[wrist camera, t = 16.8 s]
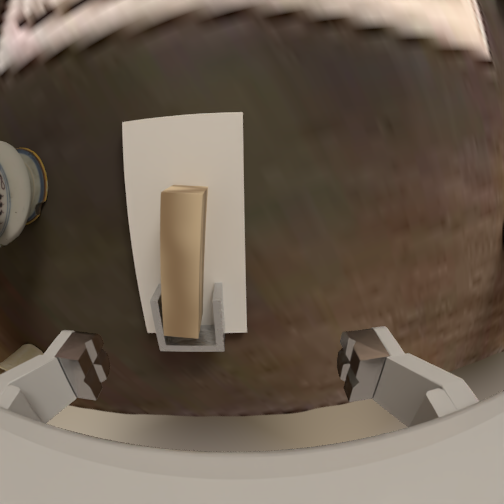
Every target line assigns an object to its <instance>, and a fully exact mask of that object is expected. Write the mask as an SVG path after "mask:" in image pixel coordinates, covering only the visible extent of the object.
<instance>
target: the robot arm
mask: <svg viewBox="0 0 504 504" xmlns="http://www.w3.org/2000/svg"><path fill="white" fill-rule="evenodd" d="M340 343H341V345H342V347H343V348H342V349H341V350H340V351H339V352H338V357H337V369H338V374H339V377H340V379H342V380H343V381H345V384H344V390H345V393H346V395H347V398H348V401H349V402H352V401H359V400H365V399H372V398H373V400H374V401H375V402H377V403H378V404H379V405H380V406H382V407H383V408H384V409H386V410H387V411H388V412H389V413H390V414H392V415H393V416H394V417H396V418H397V419H398V420H400V421H401V422H402V423H403V424H405V425H406V426H407V427H408V428H404V429H400V430H397V431H393V432H389V433H385V434H381V435H377V436H372V437H367V438H363V439H358V440H353V441H347V442H342V443H336V444H330V445H322V446H316V447H307V448H299V449H288V450H274V451H254V452H210V451H209V452H208V451H190V450H177V449H166V448H156V447H149V446H142V445H135V444H129V443H123V442H117V441H112V440H107V439H102V438H98V437H93V436H89V435H85V434H81V433H77V432H72V431H69V430H66V429H62V428H59V427H55V426H52V425H49V424H46V423H47V422H48V421H49V420H51V419H52V418H53V417H54V416H55V415H57V414H58V413H59V412H60V411H62V410H63V409H64V408H65V407H67V406H68V405H69V404H70V403H72V402H73V401H74V400H75V399H76V397H78V398H84V399H91V400H97V398H98V396H99V394H100V392H101V390H102V388H103V387H102V384H101V382H103V381H104V380H106V379H107V377H108V375H109V372H110V360H109V357H108V354H107V353H106V352H105V351H104V350H103V349H102V347H103V345H104V342H103V340H102V337H101V336H100V335H99V334H96V333H87V332H79V331H69V330H64V331H61V333H60V334H59V335H58V336H57V338H56V339H55V340H54V341H53V343H52V344H51V345H50V346H49V348H48V349H47V350H46V352H45V353H44V354H43V355H38V356H36V357H34V358H32V359H30V360H28V361H26V362H24V363H22V364H20V365H18V366H16V367H14V368H12V369H10V370H8V371H6V372H4V373H2V374H0V504H504V390H503V391H501V392H499V393H497V394H495V395H493V396H491V397H488V398H486V399H484V400H482V401H479V400H478V399H477V398H476V396H475V395H474V393H473V392H472V391H471V390H470V388H469V387H468V385H467V384H466V382H465V381H464V380H463V379H462V378H459V377H457V376H455V375H453V374H451V373H449V372H447V371H445V370H443V369H440V368H438V367H436V366H434V365H432V364H430V363H428V362H426V361H424V360H422V359H420V358H418V357H416V356H414V355H411V354H409V353H407V354H405V353H404V352H403V350H402V349H401V347H400V346H399V344H398V343H397V341H396V340H395V339H394V337H393V336H392V334H391V333H390V331H389V330H388V329H387V327H385V326H381V327H375V328H371V329H364V330H355V331H346V332H343V333H342V335H341V340H340Z"/></svg>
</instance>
